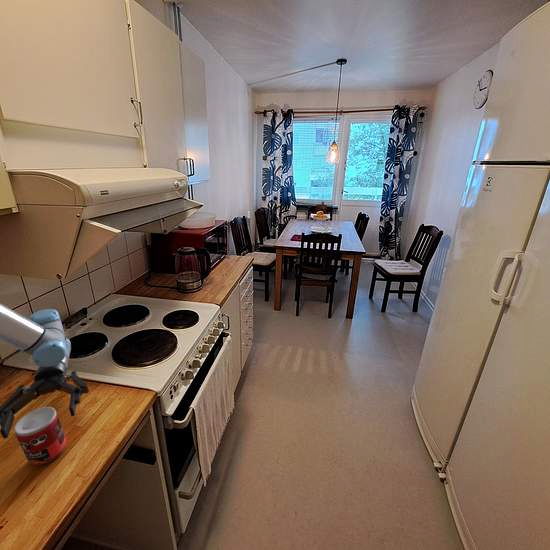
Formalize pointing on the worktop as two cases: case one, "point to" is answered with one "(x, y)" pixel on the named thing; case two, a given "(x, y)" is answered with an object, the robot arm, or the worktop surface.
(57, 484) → the worktop surface
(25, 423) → the canned food
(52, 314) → the robot arm
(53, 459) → the pad
